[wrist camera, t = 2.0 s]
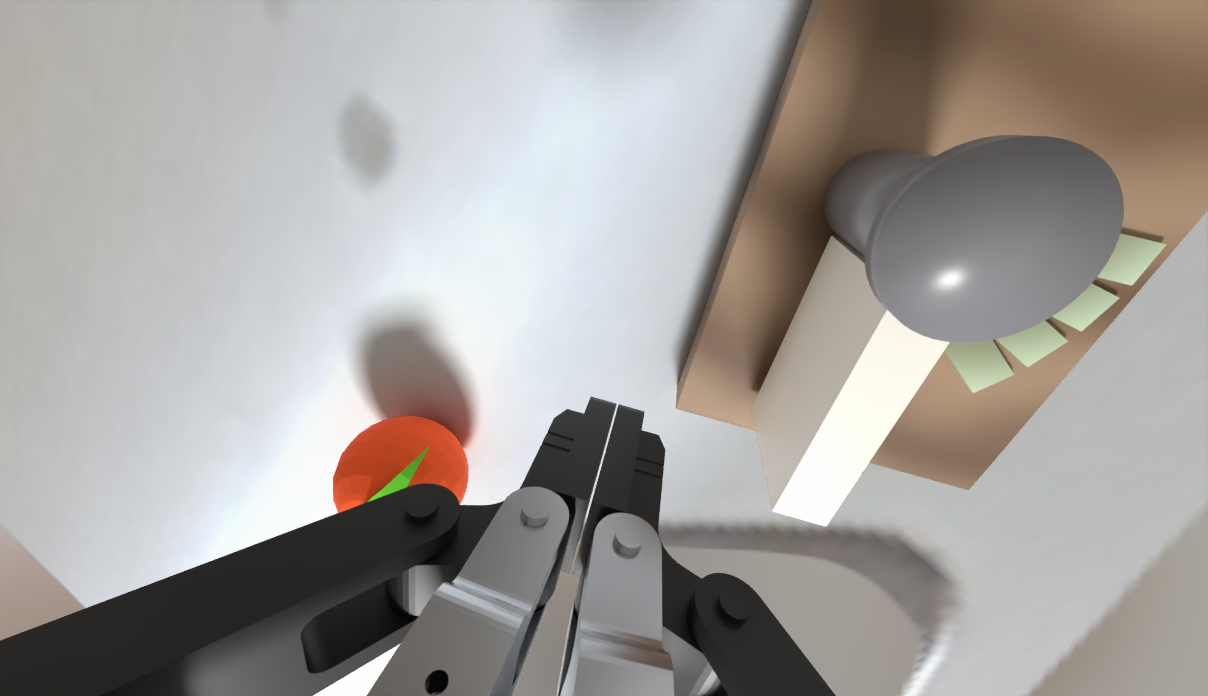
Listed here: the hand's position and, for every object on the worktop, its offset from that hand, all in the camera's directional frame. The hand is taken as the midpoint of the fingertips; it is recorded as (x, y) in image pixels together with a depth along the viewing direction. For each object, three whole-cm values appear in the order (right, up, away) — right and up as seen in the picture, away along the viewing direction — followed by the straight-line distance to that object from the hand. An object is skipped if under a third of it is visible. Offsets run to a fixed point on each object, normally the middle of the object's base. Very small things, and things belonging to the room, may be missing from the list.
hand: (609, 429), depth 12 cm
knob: (+9, +4, +5) cm, 11 cm away
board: (+12, +7, +6) cm, 15 cm away
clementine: (-10, -3, +16) cm, 19 cm away
